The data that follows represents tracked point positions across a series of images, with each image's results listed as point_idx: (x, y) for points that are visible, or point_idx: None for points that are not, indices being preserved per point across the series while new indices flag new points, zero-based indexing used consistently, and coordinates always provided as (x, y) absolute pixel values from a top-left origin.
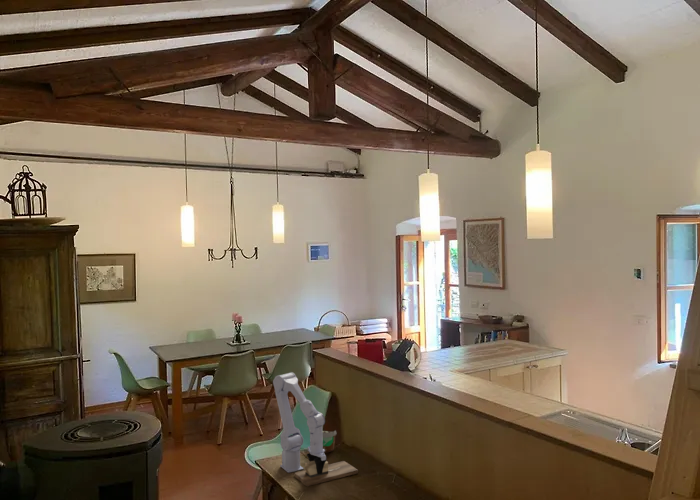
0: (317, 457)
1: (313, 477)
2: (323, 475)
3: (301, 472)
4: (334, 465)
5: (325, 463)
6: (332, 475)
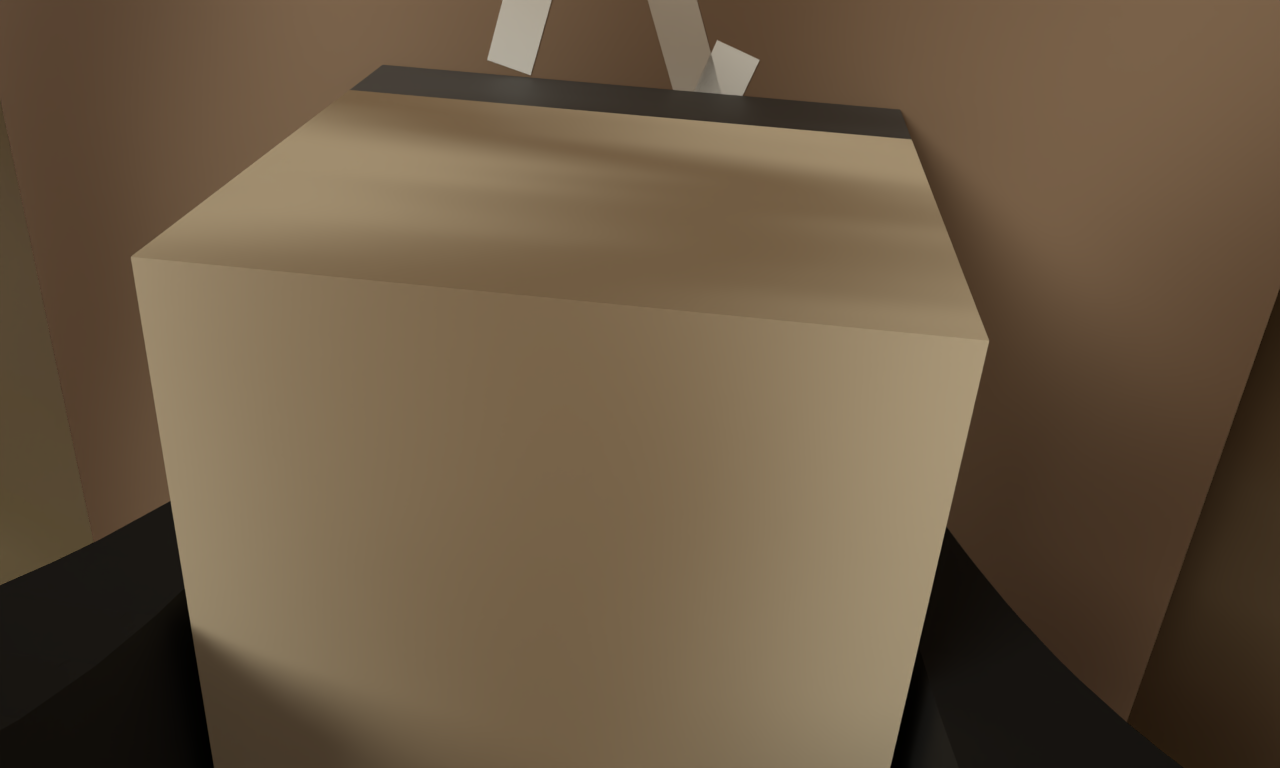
0: (91, 723)
1: None
2: None
3: None
4: None
5: (941, 507)
6: (1258, 95)
